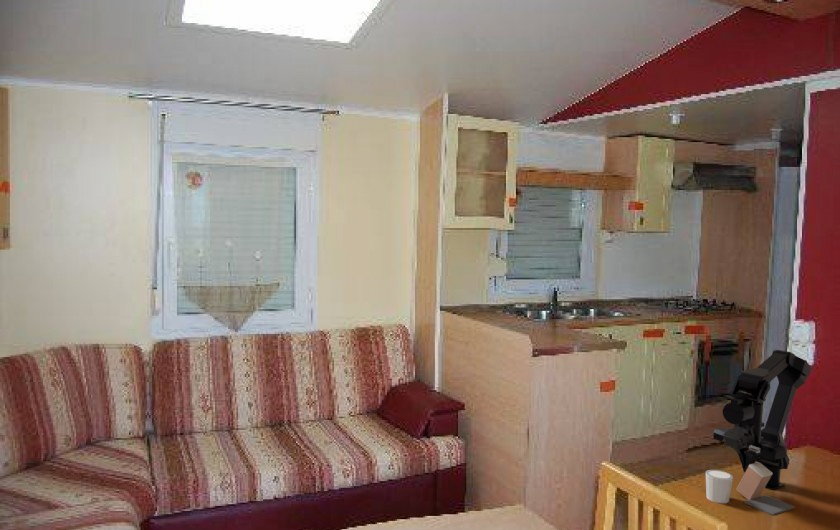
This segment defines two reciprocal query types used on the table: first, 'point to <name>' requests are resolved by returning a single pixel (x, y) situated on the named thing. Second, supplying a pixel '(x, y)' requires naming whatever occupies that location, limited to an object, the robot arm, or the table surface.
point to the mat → (769, 505)
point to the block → (754, 481)
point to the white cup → (718, 486)
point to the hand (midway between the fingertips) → (746, 472)
